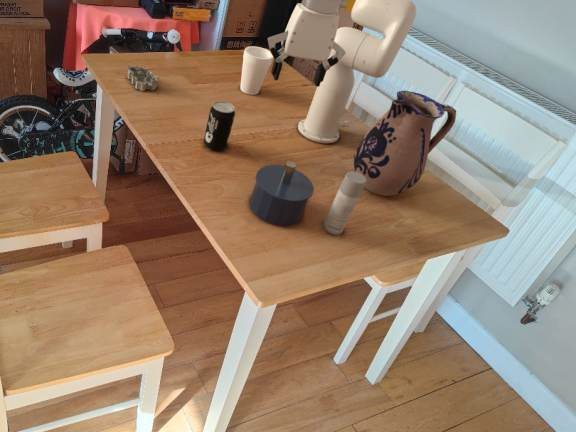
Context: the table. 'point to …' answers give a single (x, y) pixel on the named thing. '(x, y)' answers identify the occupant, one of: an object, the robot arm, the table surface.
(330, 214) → the container
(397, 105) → the ceramic pitcher
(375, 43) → the robot arm
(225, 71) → the table surface
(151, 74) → the egg carton
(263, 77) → the foam cup
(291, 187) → the lid
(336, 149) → the table surface
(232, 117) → the beverage can
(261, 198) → the tin
